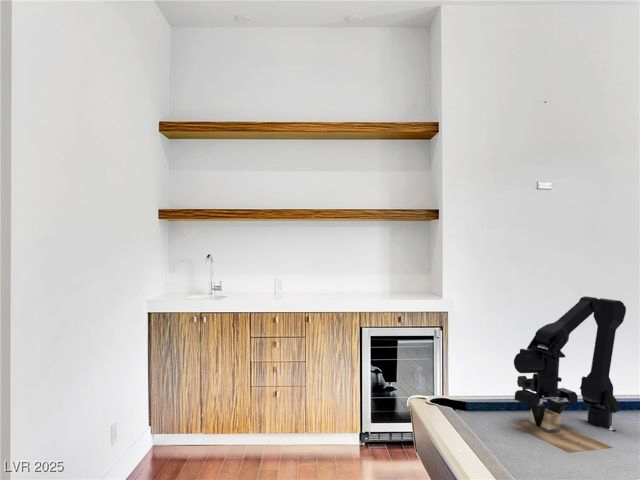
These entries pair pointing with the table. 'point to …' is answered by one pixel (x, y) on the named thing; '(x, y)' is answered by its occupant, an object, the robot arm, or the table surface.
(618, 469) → the table surface
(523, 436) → the table surface
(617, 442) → the table surface
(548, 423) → the block
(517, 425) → the light brown wooden board
